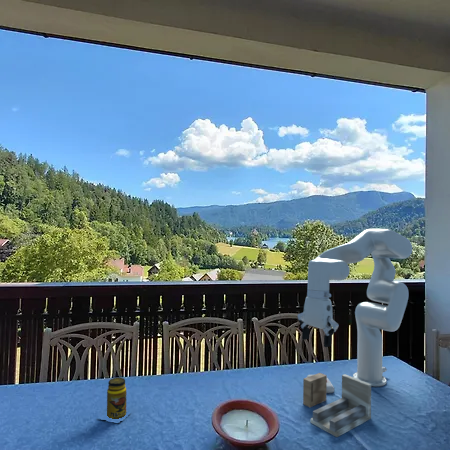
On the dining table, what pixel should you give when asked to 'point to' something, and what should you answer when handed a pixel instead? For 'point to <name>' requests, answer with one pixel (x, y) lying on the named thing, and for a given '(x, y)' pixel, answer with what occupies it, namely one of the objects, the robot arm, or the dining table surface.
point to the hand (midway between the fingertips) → (316, 342)
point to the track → (345, 408)
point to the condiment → (116, 398)
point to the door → (314, 389)
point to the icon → (328, 386)
